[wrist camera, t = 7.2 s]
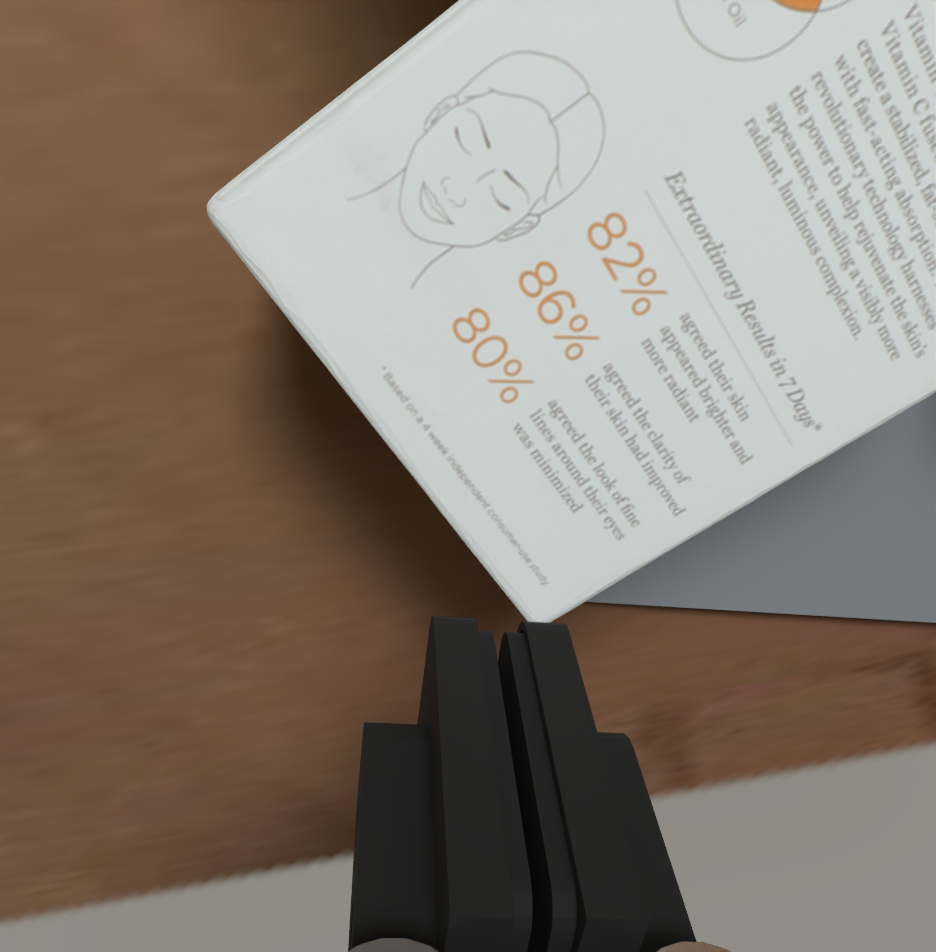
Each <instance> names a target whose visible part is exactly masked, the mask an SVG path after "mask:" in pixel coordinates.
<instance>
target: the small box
mask: <svg viewBox="0 0 936 952" xmlns="http://www.w3.org/2000/svg"><path fill="white" fill-rule="evenodd" d="M207 213H208V216H209V218H210V219H211V221H212V223H213V224H214V226H215V227H216V228H217V229H218V231H219V232H220V233H221V235H222V236H223V237H224V238H225V240H226V241H227V242H228V243H229V245H230V246H231V247H232V248H233V250H234V251H235V252H236V253H237V255H238V256H239V257H240V258H241V260H242V261H243V262H244V263H245V265H246V266H247V267H248V269H249V270H250V271H251V272H252V274H253V275H254V276H255V278H256V279H257V280H258V281H259V283H260V284H261V285H262V287H263V288H264V289H265V290H266V292H267V293H268V294H269V295H270V297H271V298H272V299H273V301H274V302H275V303H276V304H277V306H278V307H279V308H280V310H281V311H282V312H283V313H284V315H285V316H286V317H287V318H288V320H289V321H290V322H291V323H292V325H293V326H294V327H295V329H296V330H297V331H298V332H299V334H300V335H301V336H302V338H303V339H304V340H305V341H306V342H307V344H308V345H309V346H310V347H311V349H312V350H313V351H314V352H315V354H316V355H317V356H318V357H319V359H320V360H321V361H322V362H323V364H324V365H325V366H326V367H327V369H328V370H329V371H330V372H331V374H332V375H333V376H334V378H335V379H336V380H337V381H338V383H339V384H340V385H341V387H342V388H343V389H344V390H345V392H346V393H347V394H348V396H349V397H350V398H351V399H352V401H353V402H354V403H355V404H356V406H357V407H358V408H359V410H360V411H361V412H362V413H363V415H364V416H365V417H366V418H367V420H368V421H369V422H370V423H371V425H372V426H373V427H374V429H375V430H376V431H377V432H378V434H379V435H380V436H381V437H382V439H383V440H384V441H385V442H386V444H387V445H388V446H389V448H390V449H391V450H392V451H393V453H394V454H395V455H396V456H397V458H398V459H399V460H400V461H401V463H402V464H403V465H404V466H405V468H406V469H407V470H408V471H409V473H410V474H411V475H412V476H413V477H414V479H415V480H416V481H417V482H418V484H419V485H420V486H421V487H422V489H423V490H424V491H425V492H426V494H427V495H428V496H429V498H430V499H431V500H432V502H433V503H434V504H435V506H436V507H437V508H438V509H439V511H440V512H441V513H442V515H443V516H444V517H445V518H446V520H447V521H448V522H449V524H450V525H451V526H452V527H453V529H454V530H455V531H456V532H457V534H458V535H459V536H460V537H461V539H462V540H463V541H464V542H465V544H466V545H467V546H468V547H469V549H470V550H471V551H472V552H473V554H474V555H475V556H476V557H477V559H478V560H479V561H480V562H481V564H482V565H483V566H484V567H485V569H486V570H487V571H488V572H489V574H490V575H491V576H492V577H493V579H494V580H495V581H496V582H497V584H498V585H499V586H500V588H501V589H502V590H503V591H504V593H505V594H506V595H507V596H508V598H509V599H510V600H511V601H512V603H513V604H514V605H515V606H516V608H517V609H518V610H519V611H520V613H521V614H522V615H523V616H524V618H525V619H526V620H527V621H528V622H544V623H550V622H551V621H553V620H555V619H557V618H558V617H560V616H562V615H564V614H566V613H567V612H569V611H571V610H572V609H574V608H575V607H577V606H579V605H580V604H582V603H584V602H585V601H587V600H589V599H590V598H592V597H594V596H595V595H597V594H598V593H600V592H602V591H603V590H605V589H607V588H608V587H610V586H612V585H613V584H615V583H617V582H618V581H620V580H622V579H624V578H625V577H627V576H628V575H630V574H632V573H633V572H635V571H637V570H638V569H640V568H642V567H643V566H645V565H647V564H648V563H650V562H652V561H653V560H655V559H657V558H658V557H660V556H662V555H663V554H665V553H667V552H668V551H670V550H672V549H673V548H675V547H677V546H678V545H680V544H682V543H683V542H685V541H687V540H688V539H690V538H691V537H693V536H695V535H697V534H699V533H701V532H702V531H704V530H706V529H707V528H709V527H710V526H712V525H713V524H715V523H717V522H719V521H720V520H722V519H724V518H725V517H727V516H729V515H730V514H732V513H734V512H735V511H737V510H738V509H740V508H742V507H744V506H746V505H747V504H749V503H751V502H753V501H754V500H756V499H757V498H759V497H760V496H762V495H763V494H765V493H767V492H768V491H770V490H772V489H774V488H775V487H777V486H779V485H780V484H782V483H784V482H785V481H787V480H789V479H790V478H792V477H793V476H795V475H797V474H798V473H800V472H801V471H803V470H805V469H806V468H808V467H810V466H812V465H814V464H816V463H818V462H820V461H821V460H823V459H825V458H826V457H828V456H829V455H831V454H833V453H834V452H836V451H837V450H839V449H840V448H842V447H844V446H845V445H847V444H849V443H851V442H852V441H854V440H856V439H858V438H859V437H861V436H863V435H865V434H866V433H868V432H870V431H872V430H873V429H875V428H877V427H878V426H880V425H882V424H883V423H885V422H887V421H888V420H890V419H891V418H893V417H895V416H896V415H898V414H900V413H901V412H903V411H905V410H906V409H908V408H910V407H911V406H913V405H915V404H917V403H918V402H920V401H922V400H924V399H925V398H927V397H928V396H930V395H932V394H934V393H935V392H936V0H459V1H458V2H456V3H455V4H454V5H453V6H451V7H450V8H449V9H448V10H446V11H445V12H444V13H443V14H441V15H440V16H439V17H438V18H436V19H435V20H434V21H433V22H432V23H430V24H429V25H428V26H427V27H425V28H424V29H423V30H422V31H420V32H419V33H418V34H417V35H415V36H414V37H413V38H412V39H410V40H409V41H408V42H407V43H405V44H404V45H403V46H402V47H400V48H399V49H398V50H397V51H395V52H394V53H393V54H392V55H390V56H389V57H388V58H386V59H385V60H384V61H383V62H381V63H380V64H379V65H377V66H376V67H375V68H374V69H372V70H371V71H370V72H368V73H367V74H366V75H365V76H363V77H362V78H361V79H359V80H358V81H357V82H356V83H354V84H353V85H352V86H351V87H349V88H348V89H347V90H346V91H344V92H343V93H342V94H341V95H339V96H338V97H337V98H335V99H334V100H333V101H332V102H330V103H329V104H328V105H327V106H325V107H324V108H323V109H322V110H320V111H319V112H318V113H316V114H315V115H314V116H313V117H311V118H310V119H309V120H308V121H306V122H305V123H304V124H303V125H301V126H300V127H299V128H297V129H296V130H295V131H294V132H292V133H291V134H290V135H289V136H287V137H286V138H285V139H284V140H282V141H281V142H280V143H279V144H277V145H276V146H275V147H274V148H272V149H271V150H270V151H268V152H267V153H266V154H265V155H263V156H262V157H261V158H260V159H258V160H257V161H256V162H254V163H253V164H252V165H251V166H249V167H248V168H247V169H245V170H244V171H243V172H242V173H240V174H239V175H238V176H237V177H235V178H234V179H233V180H232V181H230V182H229V183H228V184H227V185H226V186H224V187H223V188H222V189H221V190H219V191H218V192H217V193H216V194H215V195H214V196H213V197H212V198H211V199H210V201H209V202H208V205H207Z"/></svg>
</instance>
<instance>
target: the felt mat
mask: <svg viewBox="0 0 936 952" xmlns="http://www.w3.org/2000/svg"><path fill="white" fill-rule="evenodd" d="M585 602H599V603H616V604H633V605H649V606H666V607H682V608H699V609H715V610H732V611H749V612H765V613H782V614H798V615H815V616H831V617H848V618H864V619H881V620H898V621H914V622H931V623H936V392H935V393H934V394H932V395H930V396H928V397H927V398H925V399H924V400H922V401H920V402H918V403H917V404H915V405H913V406H911V407H910V408H908V409H906V410H905V411H903V412H901V413H900V414H898V415H896V416H895V417H893V418H891V419H890V420H888V421H887V422H885V423H883V424H882V425H880V426H878V427H877V428H875V429H873V430H872V431H870V432H868V433H866V434H865V435H863V436H861V437H859V438H858V439H856V440H854V441H852V442H851V443H849V444H847V445H845V446H844V447H842V448H840V449H839V450H837V451H836V452H834V453H833V454H831V455H829V456H828V457H826V458H825V459H823V460H821V461H820V462H818V463H816V464H814V465H812V466H810V467H808V468H806V469H805V470H803V471H801V472H800V473H798V474H797V475H795V476H793V477H792V478H790V479H789V480H787V481H785V482H784V483H782V484H780V485H779V486H777V487H775V488H774V489H772V490H770V491H768V492H767V493H765V494H763V495H762V496H760V497H759V498H757V499H756V500H754V501H753V502H751V503H749V504H747V505H746V506H744V507H742V508H740V509H738V510H737V511H735V512H734V513H732V514H730V515H729V516H727V517H725V518H724V519H722V520H720V521H719V522H717V523H715V524H713V525H712V526H710V527H709V528H707V529H706V530H704V531H702V532H701V533H699V534H697V535H695V536H693V537H691V538H690V539H688V540H687V541H685V542H683V543H682V544H680V545H678V546H677V547H675V548H673V549H672V550H670V551H668V552H667V553H665V554H663V555H662V556H660V557H658V558H657V559H655V560H653V561H652V562H650V563H648V564H647V565H645V566H643V567H642V568H640V569H638V570H637V571H635V572H633V573H632V574H630V575H628V576H627V577H625V578H624V579H622V580H620V581H618V582H617V583H615V584H613V585H612V586H610V587H608V588H607V589H605V590H603V591H602V592H600V593H598V594H597V595H595V596H594V597H592V598H590V599H589V600H587V601H585Z"/></svg>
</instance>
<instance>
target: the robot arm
mask: <svg viewBox="0 0 936 952" xmlns="http://www.w3.org/2000/svg"><path fill="white" fill-rule="evenodd" d="M348 952H731V951H729V950H727V949H724V948H721V947H718V946H714V945H711V944H707V943H705V942H696V939H695V936H694V933H693V930H692V927H691V924H690V921H689V917H688V914H687V911H686V908H685V905H684V902H683V899H682V896H681V893H680V890H679V887H678V884H677V881H676V877H675V874H674V871H673V868H672V865H671V862H670V859H669V856H668V853H667V850H666V847H665V843H664V840H663V837H662V834H661V831H660V828H659V825H658V822H657V819H656V816H655V813H654V810H653V806H652V803H651V800H650V797H649V794H648V791H647V788H646V785H645V782H644V779H643V776H642V773H641V769H640V766H639V763H638V760H637V757H636V754H635V751H634V748H633V746H632V744H631V741H630V739H629V738H628V737H627V736H626V735H625V734H624V733H603V732H597V730H596V726H595V723H594V719H593V716H592V712H591V708H590V705H589V701H588V698H587V694H586V691H585V687H584V683H583V680H582V676H581V673H580V669H579V666H578V662H577V658H576V655H575V651H574V648H573V644H572V640H571V637H570V633H569V630H568V628H567V625H565V624H562V623H544V622H527V621H522V622H521V623H520V625H519V628H518V632H517V633H515V632H505V633H504V634H503V637H502V642H501V647H500V653H499V659H498V662H497V655H496V648H495V642H494V636H493V632H492V631H479V630H478V625H477V620H476V619H474V618H457V617H439V616H432V618H431V623H430V629H429V637H428V645H427V653H426V661H425V669H424V677H423V685H422V693H421V701H420V709H419V717H418V725H412V724H388V723H364V728H363V738H362V750H361V761H360V773H359V786H358V799H357V813H356V828H355V844H354V861H353V880H352V896H351V913H350V930H349V948H348Z"/></svg>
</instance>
